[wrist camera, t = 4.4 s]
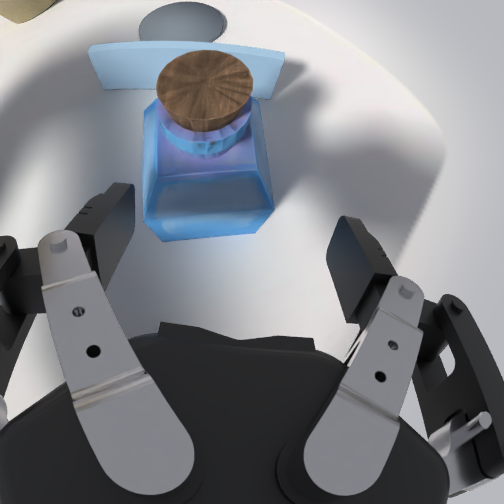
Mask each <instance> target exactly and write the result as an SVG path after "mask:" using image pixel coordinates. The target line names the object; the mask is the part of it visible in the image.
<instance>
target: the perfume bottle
mask: <svg viewBox="0 0 504 504" xmlns="http://www.w3.org/2000/svg"><path fill="white" fill-rule="evenodd" d="M156 90H157V96H158V98H157V99H156V100H155V101H154V102H153V103H152V104H150V105H149V106H148V107H147V108H146V109H145V110H144V126H143V167H142V181H143V222H144V223H145V224H146V225H147V226H148V227H149V228H150V229H151V230H152V231H153V232H154V233H155V234H156V235H157V236H158V237H159V238H160V239H161V240H162V242H166V241H176V240H186V239H196V238H207V237H218V236H228V235H240V234H251V233H255V232H256V231H257V230H258V229H259V228H260V226H261V225H262V224H263V223H264V222H265V220H266V219H267V218H268V217H269V216H270V214H271V213H272V212H273V211H274V204H273V196H272V189H271V182H270V174H269V167H268V160H267V153H266V147H265V140H264V133H263V127H262V120H261V114H260V107H259V102H258V101H257V100H256V99H254V98H253V97H252V96H251V93H252V91H253V78H252V75H251V73H250V70H249V69H248V67H247V66H246V65H245V64H244V63H243V62H242V61H241V60H239V59H238V58H236V57H234V56H233V55H231V54H228V53H225V52H221V51H218V50H198V51H192V52H188V53H185V54H183V55H181V56H178V57H176V58H175V59H173V60H172V61H171V62H169V63H168V64H167V65H166V66H165V67H164V68H163V70H162V71H161V72H160V74H159V76H158V79H157V83H156Z"/></svg>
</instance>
